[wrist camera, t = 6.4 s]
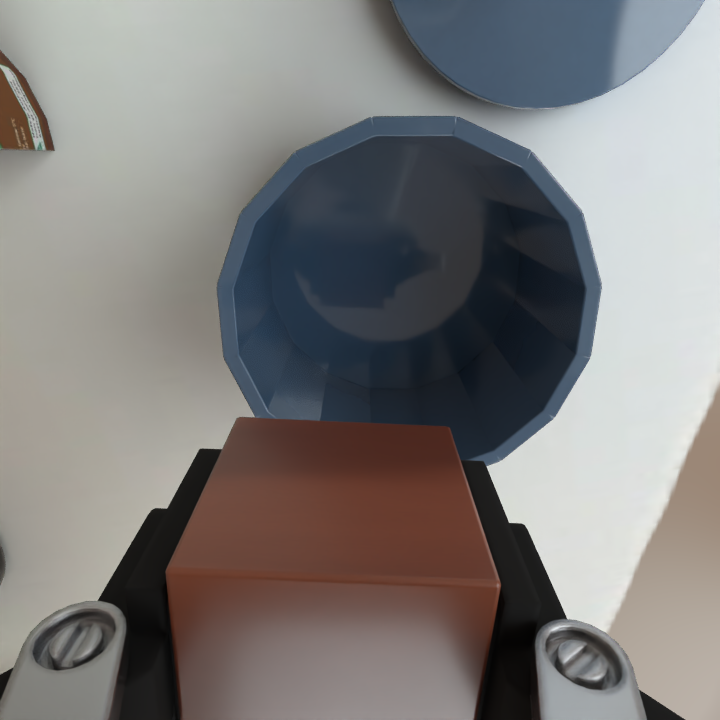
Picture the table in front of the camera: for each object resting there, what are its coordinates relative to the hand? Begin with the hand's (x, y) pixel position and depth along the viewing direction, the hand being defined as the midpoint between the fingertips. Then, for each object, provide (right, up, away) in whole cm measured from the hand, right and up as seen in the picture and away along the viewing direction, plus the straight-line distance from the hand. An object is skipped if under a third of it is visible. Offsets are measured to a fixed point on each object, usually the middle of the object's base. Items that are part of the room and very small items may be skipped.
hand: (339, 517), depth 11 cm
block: (0, 0, 0) cm, 0 cm away
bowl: (+2, +7, +12) cm, 14 cm away
